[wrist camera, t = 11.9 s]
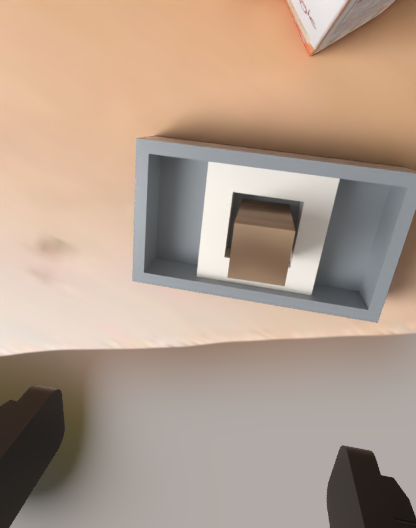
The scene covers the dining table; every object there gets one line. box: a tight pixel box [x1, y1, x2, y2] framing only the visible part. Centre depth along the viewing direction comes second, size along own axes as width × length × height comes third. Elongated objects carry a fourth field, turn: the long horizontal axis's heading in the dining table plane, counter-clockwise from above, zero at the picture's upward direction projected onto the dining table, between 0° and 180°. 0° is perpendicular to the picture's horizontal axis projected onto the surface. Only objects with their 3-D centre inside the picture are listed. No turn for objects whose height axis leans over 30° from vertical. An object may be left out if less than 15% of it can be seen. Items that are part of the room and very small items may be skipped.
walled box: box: [132, 136, 416, 323], centre depth 30 cm, size 12×21×4 cm, turn 84°
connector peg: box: [227, 199, 295, 286], centre depth 28 cm, size 4×4×8 cm
